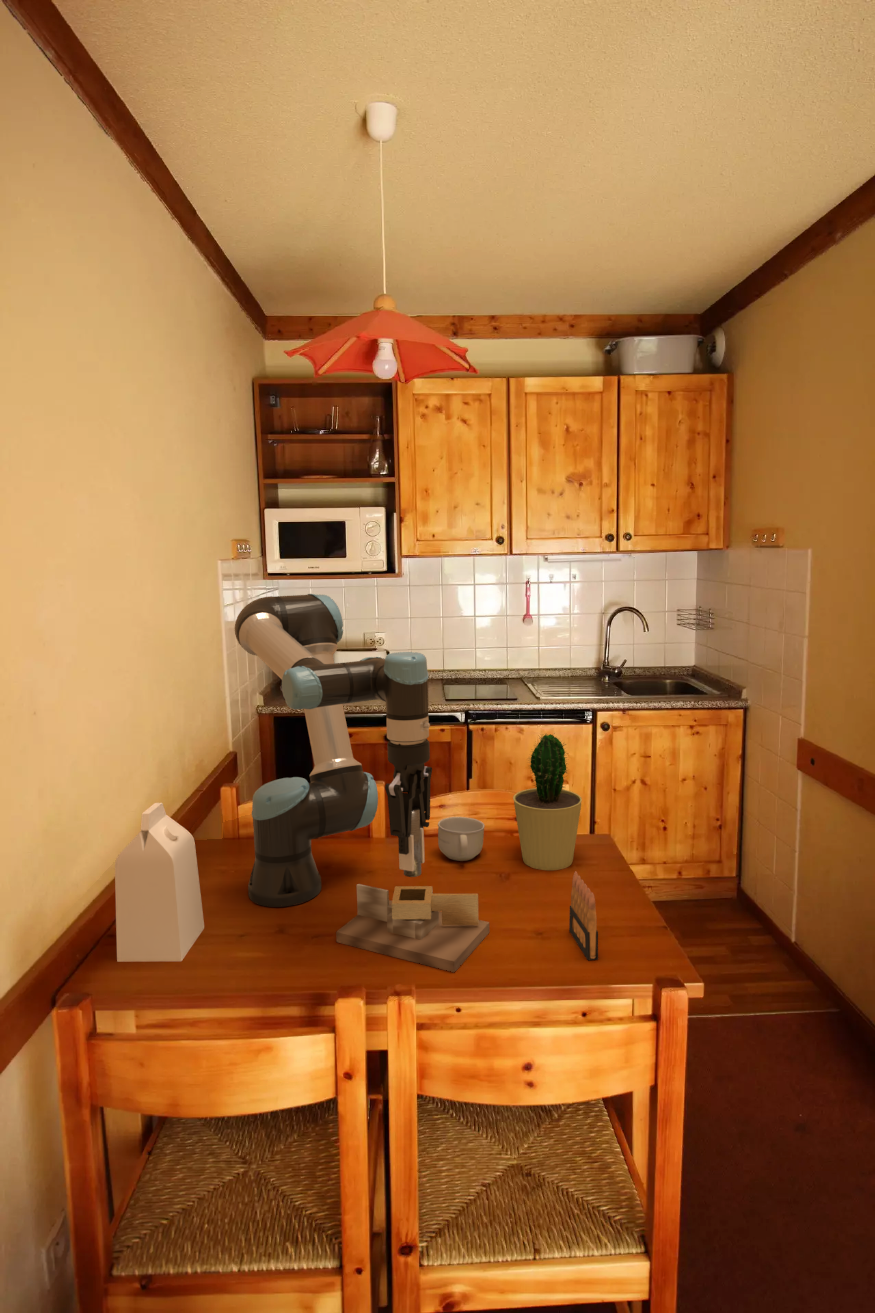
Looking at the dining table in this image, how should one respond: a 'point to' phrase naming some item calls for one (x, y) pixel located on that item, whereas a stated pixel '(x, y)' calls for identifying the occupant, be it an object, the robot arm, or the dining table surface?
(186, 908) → the milk
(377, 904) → the hinge base
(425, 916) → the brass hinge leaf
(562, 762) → the potted cactus
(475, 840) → the teacup
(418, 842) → the hinge pin
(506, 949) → the dining table surface
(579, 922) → the ammunition clip
